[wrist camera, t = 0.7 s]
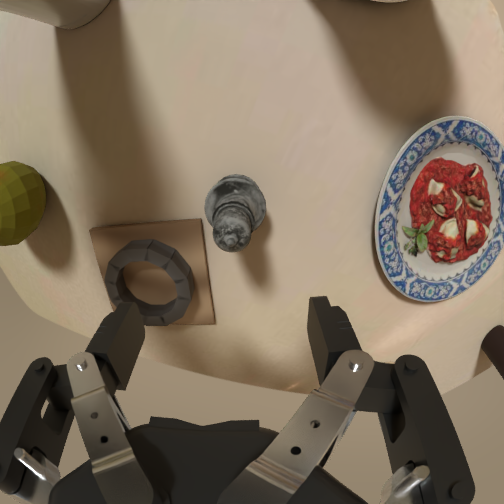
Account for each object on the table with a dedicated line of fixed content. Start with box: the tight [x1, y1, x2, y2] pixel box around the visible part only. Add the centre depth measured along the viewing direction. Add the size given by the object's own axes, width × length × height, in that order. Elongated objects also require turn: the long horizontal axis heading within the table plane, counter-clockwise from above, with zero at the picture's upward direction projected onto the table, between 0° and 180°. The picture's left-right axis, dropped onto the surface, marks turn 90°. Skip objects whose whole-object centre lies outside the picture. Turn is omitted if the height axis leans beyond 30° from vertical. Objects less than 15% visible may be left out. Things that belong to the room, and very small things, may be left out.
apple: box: [0, 161, 46, 246], centre depth 24 cm, size 10×10×11 cm
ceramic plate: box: [375, 116, 504, 302], centre depth 30 cm, size 26×26×3 cm
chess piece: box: [205, 174, 266, 252], centre depth 25 cm, size 6×6×12 cm
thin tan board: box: [89, 219, 215, 326], centre depth 33 cm, size 14×14×3 cm
